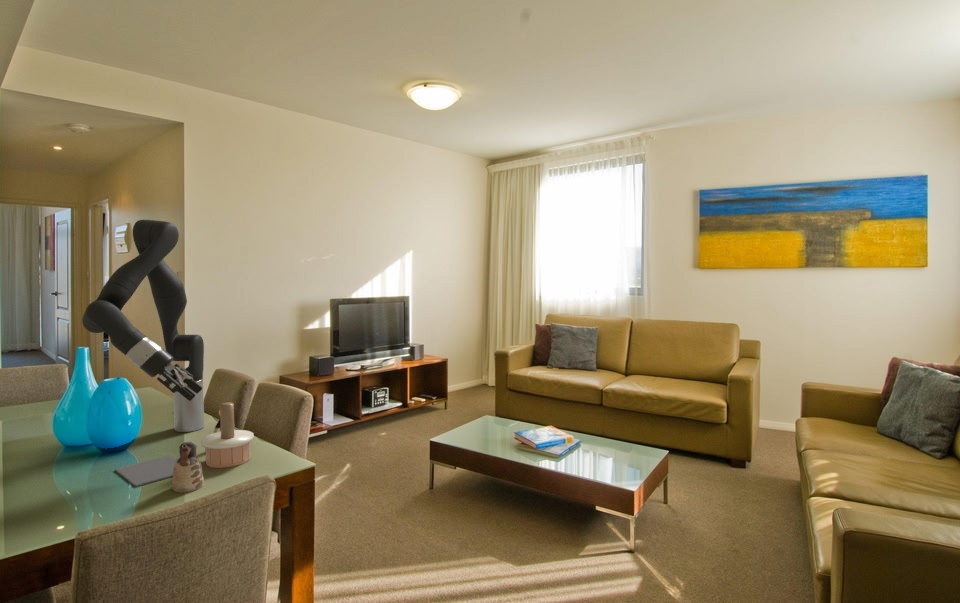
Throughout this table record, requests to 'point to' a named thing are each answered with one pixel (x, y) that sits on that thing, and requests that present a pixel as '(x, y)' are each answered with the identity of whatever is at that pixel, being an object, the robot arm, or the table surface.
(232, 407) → the cover
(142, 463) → the mat
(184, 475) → the figurine
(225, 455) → the bowl
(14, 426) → the table surface
